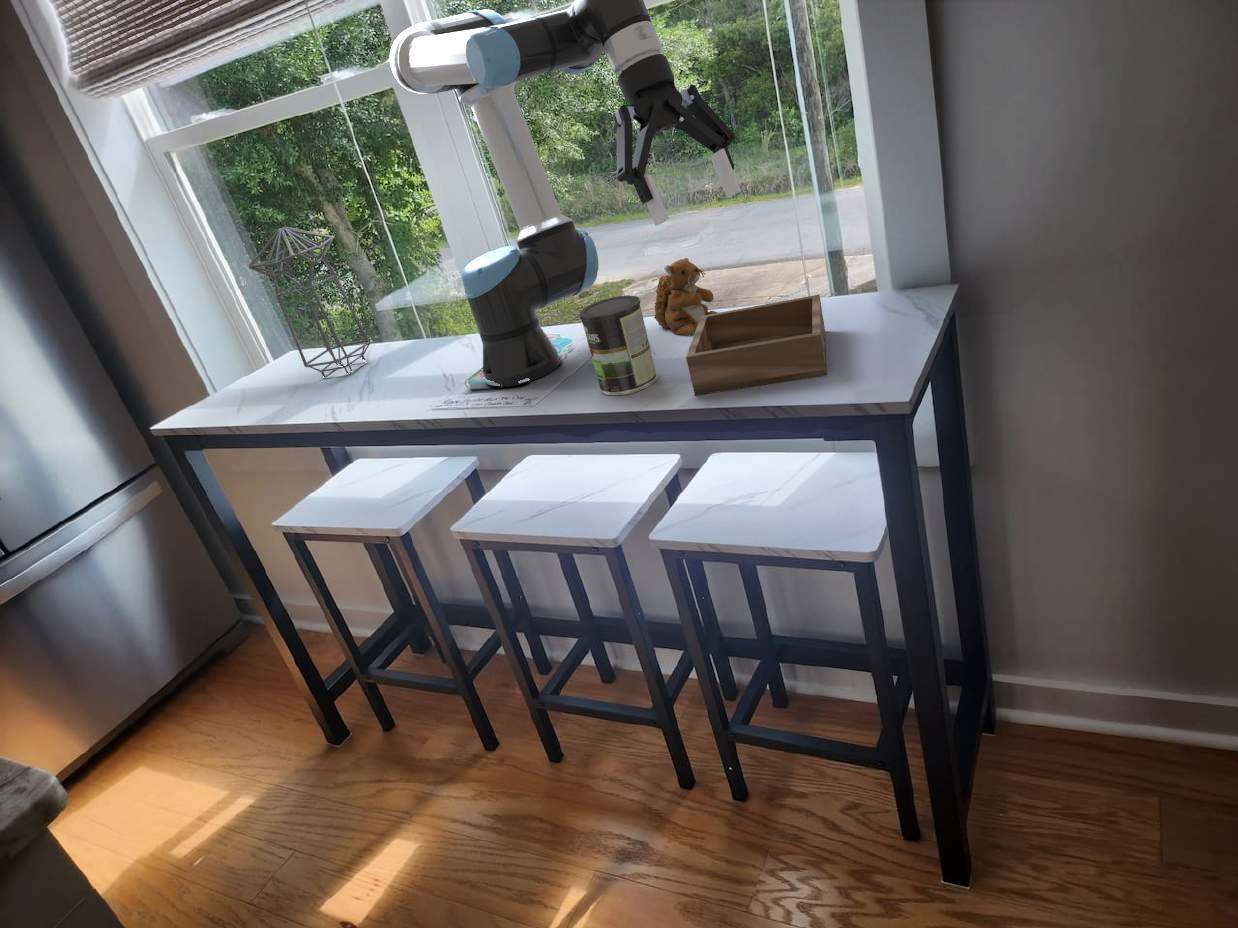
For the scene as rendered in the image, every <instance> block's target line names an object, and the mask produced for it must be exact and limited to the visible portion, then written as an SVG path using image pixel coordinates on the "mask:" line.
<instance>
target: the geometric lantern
mask: <svg viewBox="0 0 1238 928" xmlns="http://www.w3.org/2000/svg"><path fill="white" fill-rule="evenodd" d="M287 235H288V236H289V238H290V239H291V241H292V242H293V244H294V245H295V246H292V245H291V243H290V241H289V239H288V237H287ZM304 235H307V236H313V237H319V238H322V239H320V240H318V241H315V240H312V239H311V238H308V237H306V236H304ZM334 239H336V236H333V235H329V234H323V233H320V232H319V233H318V232H315V231H310V230H304V229H300V228H299V229H298V228H294V227H290V226H282V227H279V228H278V229H277V230H276V232H275V233H274V235H272V237H271V238H270V239H269V241H268V242H266V245H264V246H263V248H262V249H261V250H260V251H259V252H258V253H257V255H256V256H255V257H254V259H253V260H252V261H251V262H250V263H249V265H248V268H249V269H250V270H253V271H255V272H258V273H260V274H261V275H262V274H263V275H265V276H267V277H270V278H272V279H273V282H274V288H275V293H276V294H275V295H276V299H277V302H278V304H279V306H280V309H281V310H282V313H283V315H284V318H285V321H286V323H287V326H288V327H289V330H290V333H291V334H292V337H293V339H294V341H295V344H296V345H295V346H296V347H297V350H298V353H299V355H300V358H301V361H302V363H303V366H304V367H305V368H310V369H312V370H315V371H318V372H320V373H321V375H322V377H323V376H324V377H325V375H326V374H325V373H324V372H329V371H330V372H331V371H333V370H335V369H337V370H340V369H344V370H345V372H346V373H345V374H347V373H348V374H349V371H350V372H351V371H353V369H352V367H351V365H350V364H352V363H356V361H358V360H359V359H360V358H361V359H362V360H363V359H364V360H366V358H365V356H364V355H365V354H366V352H367V350H368V348H369V346H370V345H371V341H370V339H369V337H368V335H367V333H366V332H365V330H364V327H363V326H362V324H361V322H360V321H359V318H358V316H357V314H356V312H355V311H354V309H353V307H352V305H351V303H350V301H349V299H348V296H347V295H346V291H345V290H344V288H343V286H342V284H341V282H340V280H339V278H338V275H337V272H335V270H334V269H333V268H332V266H331V264H330V262H329V261H328V260H327V257H326V255H327V252H328V251H329V249H330V247H331V245H332V243H333V240H334ZM272 242H273V245H272V247H271V249H270V251H269V254H268V257H267V260H264V261H261V262H257V263H256V261H258V259H259V258H260V257H261V256H262V254H263V253H264V252H265V251H266V250H267V249H268V247H270V245H271V244H272ZM284 243H285V245H286V247H287V249H285V245H284ZM281 244H282V250H281V251H280V249H281ZM298 245H299V246H298ZM275 249H276V254H275V258H273V254H274V252H275ZM303 249H304V250H303ZM316 249H318V250H319V251H320V253H319V255H315V252H314V251H315V250H316ZM287 251H288V252H289V254H290V255H288V256H286V257H285V253H286V252H287ZM294 252H296V253H294ZM310 254H311V255H310ZM280 256H281V257H280ZM297 256H300V257H301V258H302V259H305V260H307V261H308V262H309V263H310V266H309V270H308V271H309V272H308V279H306V280H303V281H302V280H300V279H299V278H298V277H296V276H294V275H293V274H292V273H290V272H288V271H286V270H287V268H288V267H289V265H290V263H291V261H292V259H293V258H294V257H297ZM272 258H273V259H272ZM285 261H287V262H286V263H285V265H284V262H285ZM321 261H322V262H323V263H324V265H325V266H326V267H327V269H328V271H330V272H331V273H330V274H326V275H321V276H318V277H314V278H313V276H314V270H315V265H317V264H318V263H319V264H320V263H321ZM273 265H274V266H275V267H276V269H275V270H274V269H273V267H272V266H273ZM263 267H266V268H263ZM278 272H279V273H278ZM275 273H276V274H275ZM282 275H284V276H285V277H286V278H288V279H289V280H290V281H292V282H293V284H295V285H293V286H290V287H289V288H286V289H284V290H283V291H281V292H280V289H279V285H278V282H277V281H278V280H277V278H278V277H281V276H282ZM326 277H327V278H326ZM324 278H325V279H324ZM319 279H324V280H321V281H319V282H318V283H315V284H312V282H313V281H315V280H319ZM331 279H333V280H334V281H335V283H336V285H337V287H338V289H339V291H340V293H341V295H342V296H343V298H344V300H345V302H346V305H347V306H348V308H349V310H350V312H351V314H352V316H353V318H354V320H355V322H356V325H357V326H358V329H359V330H360V332H361V336H362V337H363V339H361V340H357V341H353V342H348V343H342V342H341V340H340V339H339V336H338V334H337V333H336V330H335V328H334V327H333V325H332V322H331V320H330V318H329V316H328V315H327V312H326V310H325V308H324V307H323V305H322V303H321V300H320V298H319V297H318V295H317V293H316V290H315V289H314V287H317V286H319V285H321V284H323V283H325V282H327V281H329V280H331ZM306 283H308V287H306V286H305V285H304V284H306ZM295 287H300V288H301V289H298V290H293V291H290V290H292V289H294V288H295ZM305 287H306V288H305ZM309 290H310V291H311V292H312V294H313V296H314V297H315V301H316V302H317V304H318V306H319V309H320V311H321V312H322V316H323V317H324V320H325V321H326V324H327V326H328V328H329V331H330V332H331V335H332V337H333V339H334V342H335V344H336V346H335V345H334V346H333V347H331V344H330V342H329V340H328V338H327V336H326V333H325V331H324V328H323V326H322V324H321V323H320V320H319V317H318V315H317V313H316V311H315V309H314V306H313V304H312V301H311V299H310V297H309V294H308V292H307V291H309ZM288 291H289V292H288ZM300 292H303V294H304V295H305V298H306V300H307V303H308V306H309V308H310V311H311V313H312V316H313V318H314V320H315V323H316V325H317V329H318V331H319V333H320V334H319V335H320V336H321V339H322V342H323V343H324V347H325V350H323V351H322V352H321V353H319V354H318V355H316V356H315V357H313V358H311V359H310V360H308V361H307V360H306V358H305V356H304V353H303V350H302V347H301V346H300V343H299V341H298V338H297V336H296V333H295V331H294V327H293V326H292V322H291V320H290V316H289V314H288V311H287V309H286V306H285V303H284V300H283V298H282V296H286V295H291V294H295V293H300ZM361 343H362V345H361V346H359V347H358V348H356V349H355V350H353V351H351V352H349V353H348V354H347V352H346V350H345V348H344V347H347V346H353V345H358V344H361ZM363 343H364V344H363ZM335 349H338V350H337V351H338V353H337V354H338V358H337V359H336V356H335V354H334V352H333V350H335ZM360 350H361V352H360V353H357V352H359V351H360ZM341 351H342V353H343V355H344V356H342V357H341ZM327 353H329V354H330V356H331V358H332V359H333V360H330V361H324V362H319V363H318V362H317V363H313V362H314V361H315V360H317V359H318V358H320V357H322V356H323V355H324V354H327ZM355 353H357V354H355ZM357 356H358V357H357ZM353 357H356V358H355V359H353V360H352V361H351V362H350V361H349V359H350V358H353ZM345 359H346V364H347V365H346V366H344V363H343V362H342V361H344V360H345ZM311 363H312V364H311ZM341 363H342V364H341ZM333 364H335V365H336V367H332V368H329V367H330V366H332V365H333ZM338 364H339V365H338ZM324 365H326V366H324ZM337 365H338V366H343V367H337ZM317 366H324V367H323V368H321V369H319V368H317ZM347 368H349V371H348V370H347ZM335 371H336V370H335Z"/></svg>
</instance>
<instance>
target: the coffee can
mask: <svg viewBox="0 0 1238 928" xmlns="http://www.w3.org/2000/svg"><path fill="white" fill-rule="evenodd" d="M642 311H643V310H642V307H641V299H640V297H638V296H636V295H620V296H618V295H617V296H614V297H609V298H605V299H602V300H599V301H596V302H592V303H591V304H590V305H587V306H585V307H584V308H583V309H582V310H580V311H579V315H578V316H579V318H580V320H581V322H582V326H583V330H584V334H585V338H586V340H587V344H588V348H589V352H590V355H591V359H592V363H593V366H594V371H595V374H596V377H597V381H598V386H599V391H600V393H602V394H603V395H605V396H610V397H617V396H625V395H627V396H628V395H632V394H634V393H638V392H640V391H642V390H645V389H647V388H649V387H651V386H652V385H654V383H656V382H657V379H658V374H657V369H656V365H655V362H654V357H653V355H652V350H651V345H650V341H649V337H648V333H647V328H646V325H645V324H646V323H645V320H644V315H643V312H642Z"/></svg>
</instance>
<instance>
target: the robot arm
mask: <svg viewBox="0 0 1238 928" xmlns="http://www.w3.org/2000/svg"><path fill="white" fill-rule="evenodd" d="M663 49H664V48H663V47H662V43H661V42H660V39H659V36H658V33H657V32H656V30H655V27H654V24H653V22H652V19H651V17H650V14H649V12H648V9H647V6H646V4H645V2H644V0H574V1H573V2H572V4H571V5H570V6H569V7H568V8H567V9H563V10H560V11H555V12H551V13H546V14H541V15H538V16H535V17H534V16H533V17H529V18H527V19H522V20H518V21H513V22H508V21H507V20H506V19H505V18H504V17H503V16H502V15H501V14H500V13H497V12H496V11H495V10H491V9H480V10H468V11H466V12H463V13H460V14H455V15H451V16H447V17H443V18H439V19H438V18H437V19H433V20H430V21H429V20H428V21H424V22H420V23H416V24H414V25H412V26H410V27H408V28H407V29H404V30H403V31H402V32H401V33H400V34H399V35H398V36H397V37H396V38H395V39H394V41H393V44H392V45H391V47H390V50H389V51H390V52H389V64H390V68H391V72H392V74H393V76H394V78H395V80H396V81H397V82H398V83H399V85H400V86H402V87H403V88H404V89H406V90H407V91H409V92H412V93H414V94H419V95H432V94H440V93H443V92H449V91H453V90H455V92H456V95H457V98H458V100H459V101H460V103H461V104H464V105H466V106H468V107H470V108H471V110H472V112H473V113H472V114H473V115H474V118H475V121H476V123H477V126H478V128H479V131H480V134H481V136H482V138H483V140H484V143H485V145H486V148H487V151H488V153H489V155H490V158H491V161H492V164H493V166H494V168H495V171H496V173H497V175H498V178H499V181H500V183H501V187H502V188H503V190H504V193H505V195H506V198H507V200H508V203H509V205H510V208H511V211H512V213H513V216H514V218H515V220H516V223H517V226H518V228H519V234H518V237H517V239H516V243H517V244H516V245H517V247H518V248H517V247H516V246H514V245H506V246H505V245H504V246H501V247H499V248H497V249H495V250H490V251H488V252H486V253H484V254H482V255H480V256H478V257H476V258H474V259H473V260H472V261H470V262H468V263H467V264H466V265H465V267H464V268H463V270H462V272H461V280H462V284H463V288H464V294H465V297H466V298H467V301H468V304H469V307H470V309H471V313H472V316H473V318H474V322H475V325H476V328H477V331H478V335H479V336H480V339H481V343H482V375H483V378H484V377H485V378H486V379H487V380H490V381H494V382H495V383H498V384H500V387H499V388H507V387H514V386H519V385H520V384H519V383H518V381H520V380H523V379H525V378H529V379H530V380H531V381H530V382H532V381H535V380H537V379H540V378H542V377H544V376H546V375H548V374H550V373H551V372H553V371H554V370H555V369H557V368H558V367H559V365H560V363H561V360H559V359H560V357H559V352H558V350H557V348H556V347H555V346H554V344H553V343H552V341H551V340H550V338H549V337H548V336H547V334H546V333H545V331H544V329H543V328H542V326H541V324H540V321H539V317H538V313H537V311H538V310H540V309H544V308H545V307H548V306H550V305H554V304H556V303H558V302H561V301H563V300H566V299H568V298H571V297H575V296H578V295H579V294H580V293H582V292H583V291H586V290H589V289H590V288H591V287H592V286H593V285H594V284H595V282H596V280H597V278H598V272H599V255H598V250H597V247H596V244H595V242H594V240H593V238H592V237H591V235H589V233H588V232H587V231H586V230H585V229H583V228H578V227H575V224H574V221H573V219H571V218H569V217H567V216H566V215H563V214H562V212H561V209H560V206H559V204H558V201H557V200H556V197H555V194H554V191H553V188H552V187H551V183H550V181H549V178H548V176H547V173H546V170H545V168H544V166H543V163H542V160H541V157H540V155H539V153H538V149H537V148H536V144H535V142H534V140H533V137H532V135H531V131H530V129H529V126H528V124H527V122H526V119H525V117H524V114H523V110H522V108H521V105H520V104H519V101H518V98H517V96H516V95H517V94H516V93H515V86H516V84H517V82H519V81H523V80H526V79H529V78H534V77H536V76H540V75H543V74H549V73H553V72H557V71H562V72H564V73H567V74H571V75H578V74H582V73H584V72H586V71H587V70H588V69H589V68H590V67H592V66H593V65H594V64H595V63H596V62H598V60H599V58H601V56H602V54H603V53H604V52H605V55H606V57H607V60H608V62H609V66H610V68H611V70H612V73H613V75H615V76H618V77H617V84H618V86H619V88H620V90H621V93H622V96H623V98H624V100H625V102H626V103H627V104H629V106H627V105H625V104H622V105H620V106H619V108H618V109H616V111H615V112H613V113H612V118H613V123H614V125H615V127H616V178H617V181H618V182H620V183H623V182H624V181H625V182H626V183H627V184H628V185H632V186H634V189H635V191H636V194H637V196H638V198H639V200H640V202H641V204H645V205H646V206H647V209H648V212H649V214H650V217H651V218H652V220H653V222H654V225H655V227H657V226H660V225H661V224H663V223H665V221H668V220H669V219H670V217H669V214H668V212H667V209H666V207H665V205H664V202H663V200H662V198H661V195H660V193H659V190H658V188H657V186H656V184H655V183H656V182H655V181H654V179H653V176H652V174H651V173H650V174H647V175H646V169H647V165H648V161H649V156H650V153H651V146H652V143H653V138H654V135H656V134H659V133H661V132H662V131H669V130H672V129H673V128H675V129H676V130H679V131H680V130H681V132H684V133H685V134H686V135H688V137H689V136H690V137H691V138H692V139H694V140H695V141H696V142H698V143H699V144H701V145H702V146H703V147H705V148H706V149H708V150H709V151H710V152H712V153H713V154H712V155H710V156H709V158H710V161H711V163H712V165H713V169H714V170H715V173H716V175H717V178H718V180H719V183H720V185H721V187H722V190H723V193H724V194H725V197H726V199H730V198H731V197H733V196H736V195H737V194H738V193H740V192H741V191H742V190H741V187H740V184H739V182H738V179H737V177H736V175H735V174H736V173H735V171H734V170H735V164H734V162H733V158H732V157H731V154H730V151H729V149H728V147H729V146H730V145H731V143H732V142H733V141H734V140H735V138H736V135H735V133H734V132H733V131H732V129H731V128H730V127H729V126H728V125H727V124H726V123H725V122H724V121H723V119H722V118H721V117H720V116H719V115H718V114H717V112H715V111H714V110H713V109H712V107H710V105H709V104H708V103H707V102H706V100H704V99H703V97H702V95H701V94H700V92H699V90H698V88H697V87H696V85H695V84H690V85H689V86H688V87H686V89H684V90H682V91H679V89H678V88H677V87H676V85H675V75H674V72H673V70H672V68H671V66H670V63H669V60H668V58H667V56H666V55H664V54H662V53H663ZM633 120H635V121H636V122H637V123H639V127H638V130H637V135H636V137H637V140H636V144H635V145H636V146H635V149H634V153H633ZM485 378H484V379H485ZM501 385H502V387H501ZM504 386H505V387H504Z"/></svg>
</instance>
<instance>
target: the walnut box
mask: <svg viewBox="0 0 1238 928" xmlns="http://www.w3.org/2000/svg"><path fill="white" fill-rule="evenodd" d="M820 295H821V294H815V295H814V294H813V295H810V296H809V295H808V296H804V297H797V298H791V299H788V300H782V301H777V302H776V301H775V302H770V303H765V304H759V305H755V306H749V307H743V308H738V309H733V310H727V311H721V312H718V313H715V314H709V315H704V316H701V318H700V320H699V323H698V326H697V327H696V328H695V332H694V334H693V337H692V340H691V343H690V345H689V348H688V351H687V353H686V356H685V358H686V363H687V367H688V373H689V378H690V381H691V385H692V389H693V393H694V397H695V396H700V395H708V394H713V393H714V394H715V393H721V392H726V391H733V390H740V389H746V388H747V389H748V388H751V387H752V388H753V387H758V386H759V387H760V386H766V385H771V384H772V385H773V384H777V383H784V382H785V383H786V382H790V381H797V380H805V379H811V378H817V377H823V376H824V377H825V376H827V375H828V374H827V351H826V350H827V349H826V346H827V345H826V328H825V327H826V326H825V322H824V315H823V308H822V303H821V296H820Z"/></svg>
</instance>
